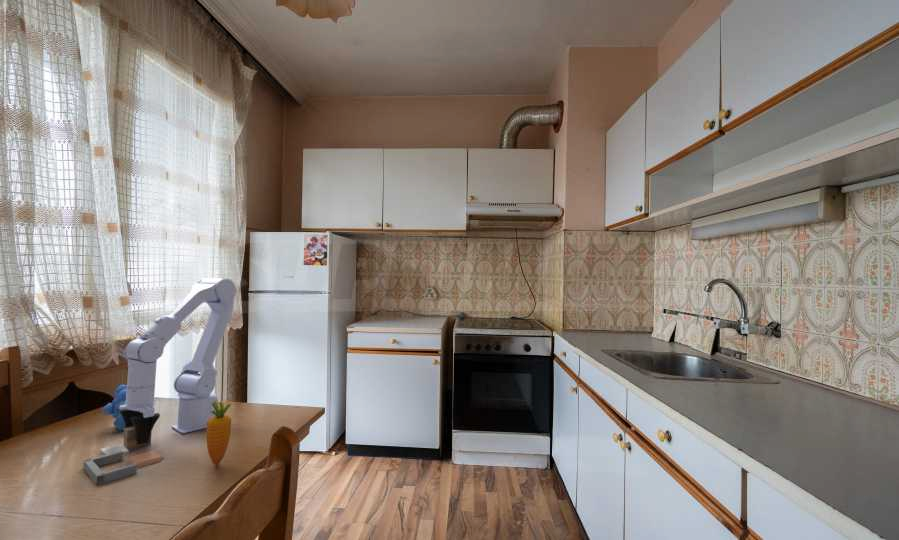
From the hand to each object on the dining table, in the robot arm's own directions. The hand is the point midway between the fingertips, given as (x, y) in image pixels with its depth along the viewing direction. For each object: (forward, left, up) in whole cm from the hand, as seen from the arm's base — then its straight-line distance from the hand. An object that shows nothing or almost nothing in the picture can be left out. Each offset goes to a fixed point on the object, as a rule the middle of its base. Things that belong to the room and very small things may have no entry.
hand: (137, 439), depth 99 cm
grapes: (0, -18, -2) cm, 18 cm away
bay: (+7, +11, -2) cm, 13 cm away
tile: (+1, +11, -2) cm, 11 cm away
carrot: (-8, +26, -2) cm, 27 cm away
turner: (+2, 0, -2) cm, 3 cm away
